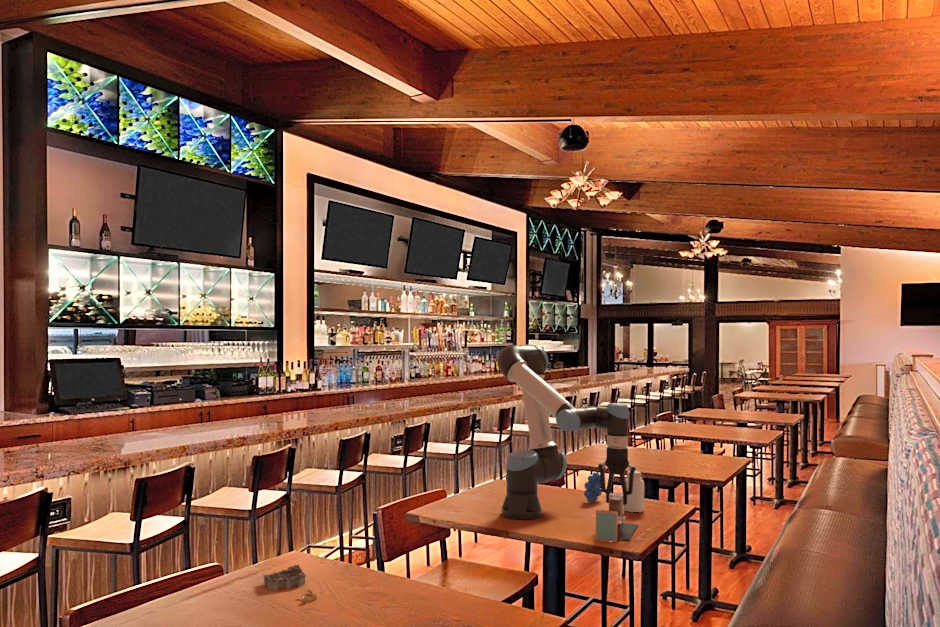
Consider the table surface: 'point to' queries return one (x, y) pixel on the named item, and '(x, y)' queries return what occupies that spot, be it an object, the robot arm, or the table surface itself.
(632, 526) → the mat
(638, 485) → the pill bottle
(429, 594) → the table surface
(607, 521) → the tile
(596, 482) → the grapes
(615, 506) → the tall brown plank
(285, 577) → the grey textured block
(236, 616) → the table surface
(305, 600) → the olive irregular clump
